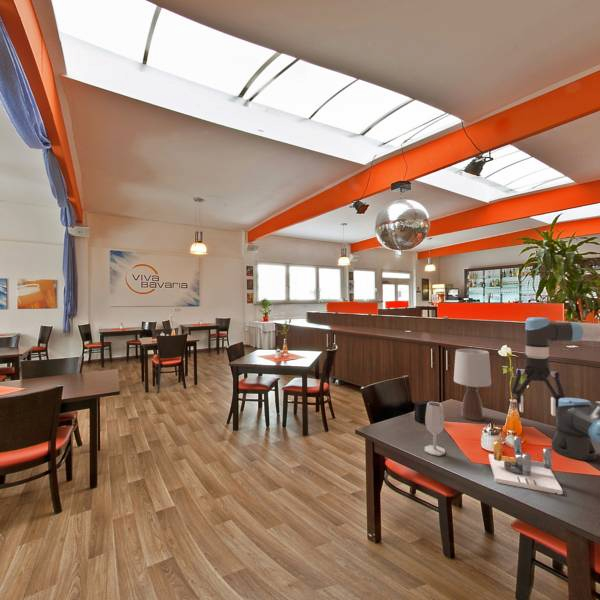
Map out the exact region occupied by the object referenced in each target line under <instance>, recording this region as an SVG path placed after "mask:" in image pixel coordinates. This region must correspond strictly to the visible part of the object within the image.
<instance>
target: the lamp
mask: <svg viewBox="0 0 600 600" xmlns="http://www.w3.org/2000/svg"><path fill="white" fill-rule="evenodd" d="M454 358H455V359H454V371H453V382H454V383H456V384H458V385H460V386H461V385H462V386H465V388H466V391H465V394H464V396H463V399H462V404H461V412H460V414H461V418H463V419H465V420H469V421H473V422H474V421H476V422H478V421H483V420H484V418H485V417H484V411H483V404H482V400H481V397H480V394H479V392H478V390H479V388H484V387H485V388H486V387H490V386H491V385H492V375H491V361H490V352H489V351H487V350H483V349H478V348H457V349H456V350H455V355H454Z"/></svg>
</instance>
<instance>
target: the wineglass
mask: <svg viewBox="0 0 600 600" xmlns="http://www.w3.org/2000/svg"><path fill="white" fill-rule="evenodd" d="M444 413H445V412H444V407H443V406H442V403H440V402H436V401H431V402H428V404H427V407H426V413H425V422H424V423H425V427H426V430H427V431H428V432H429V433H430V434H432V444H429V445H426V446H424V452H425V453H427V454H429V455H431V456H438V457H441V456H443V455H444V456H445V454H446V450H445V448H443V447H441V446H439V445H437V435H439V434H440V433H441V432H443V431H444V427H445V415H444Z"/></svg>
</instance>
